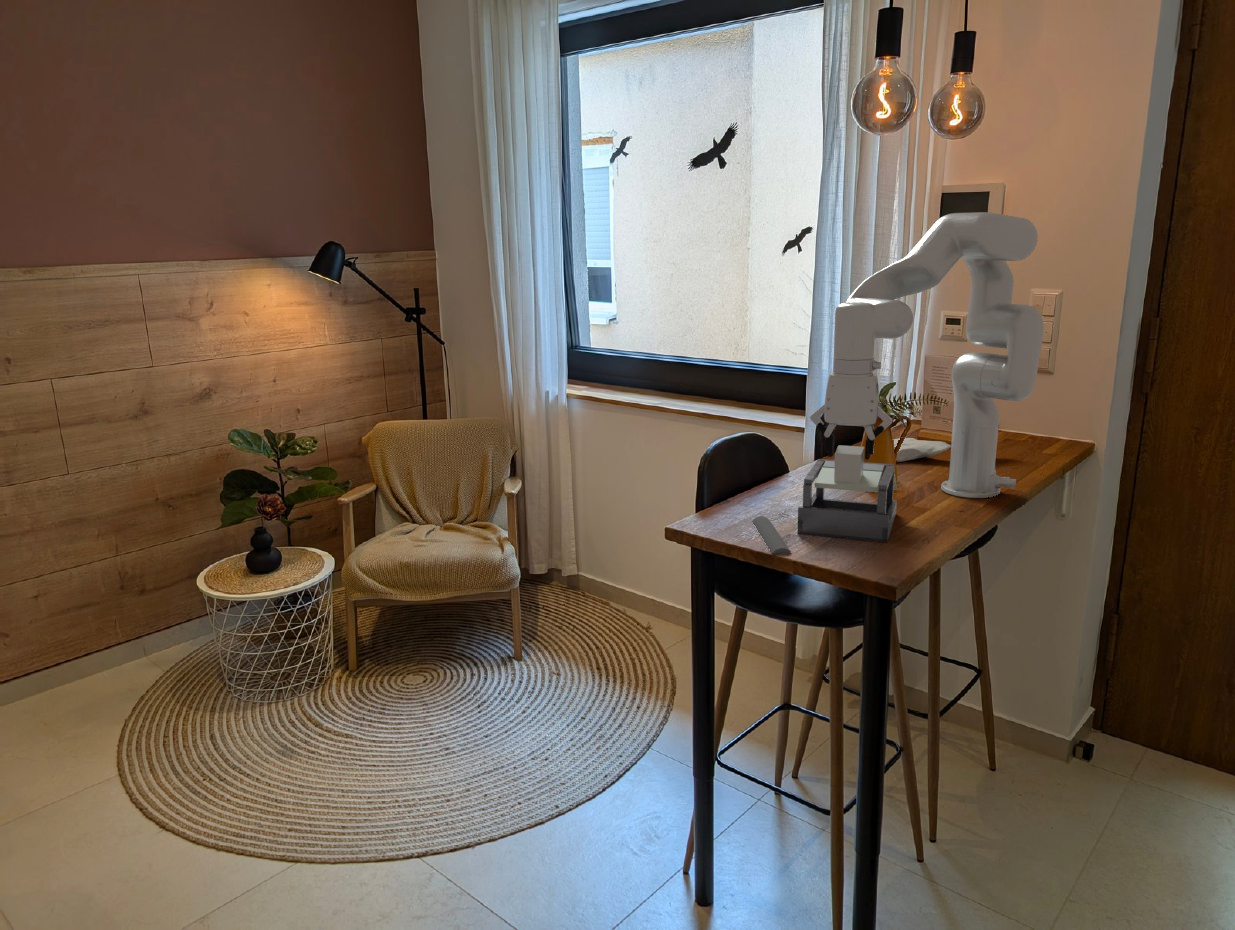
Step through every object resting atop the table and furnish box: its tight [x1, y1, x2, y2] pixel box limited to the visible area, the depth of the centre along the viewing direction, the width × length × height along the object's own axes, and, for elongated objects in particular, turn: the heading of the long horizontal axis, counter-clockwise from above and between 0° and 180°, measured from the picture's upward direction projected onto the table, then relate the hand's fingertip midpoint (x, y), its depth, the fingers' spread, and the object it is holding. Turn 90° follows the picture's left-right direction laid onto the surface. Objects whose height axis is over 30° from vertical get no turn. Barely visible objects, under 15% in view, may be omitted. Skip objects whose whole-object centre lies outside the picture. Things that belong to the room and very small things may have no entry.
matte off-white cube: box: [834, 444, 865, 484], centre depth 177 cm, size 5×5×6 cm
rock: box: [893, 437, 951, 463], centre depth 233 cm, size 21×5×15 cm
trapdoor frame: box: [797, 458, 898, 543], centre depth 182 cm, size 17×19×11 cm
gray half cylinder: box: [751, 515, 792, 555], centre depth 176 cm, size 4×20×2 cm, turn 3°
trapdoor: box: [814, 461, 885, 493], centre depth 180 cm, size 12×13×2 cm
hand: (849, 456), depth 176 cm, fingers open, 6 cm apart
